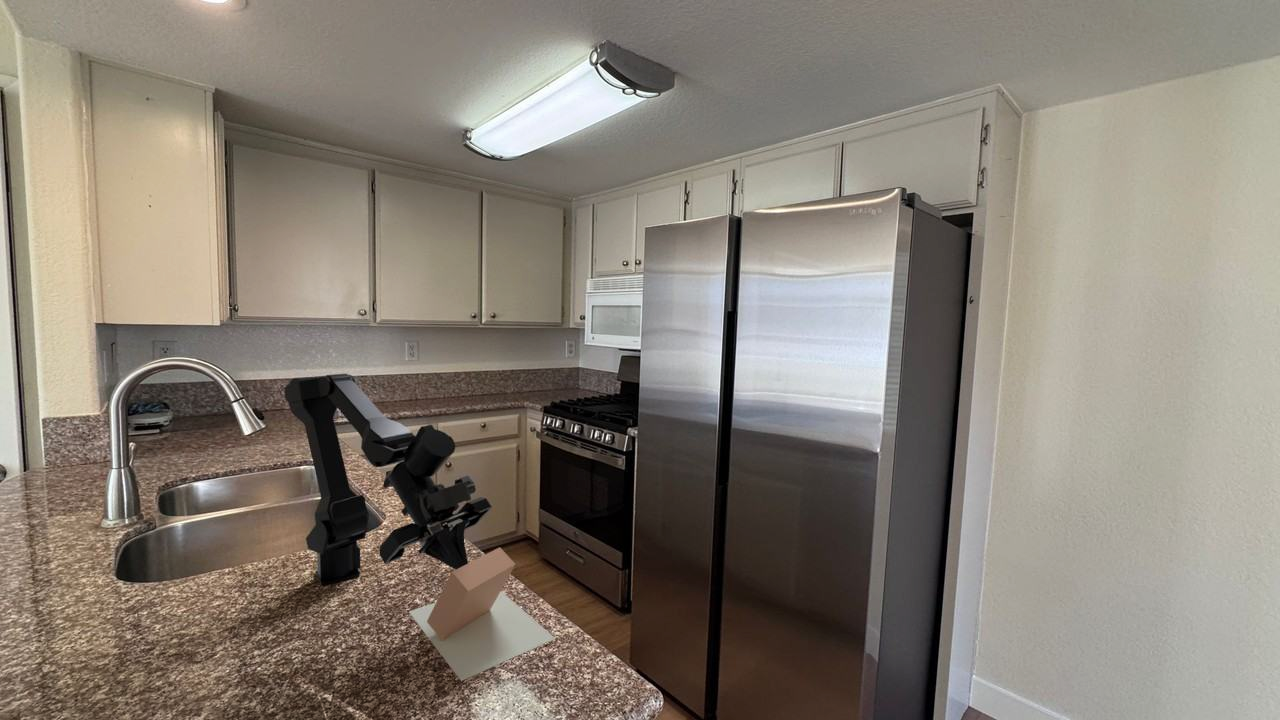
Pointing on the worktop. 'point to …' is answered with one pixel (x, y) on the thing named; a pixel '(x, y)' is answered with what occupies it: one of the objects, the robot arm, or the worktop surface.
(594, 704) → the worktop surface
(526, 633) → the rubber mat
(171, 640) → the worktop surface
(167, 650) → the worktop surface
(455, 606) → the terracotta slab
